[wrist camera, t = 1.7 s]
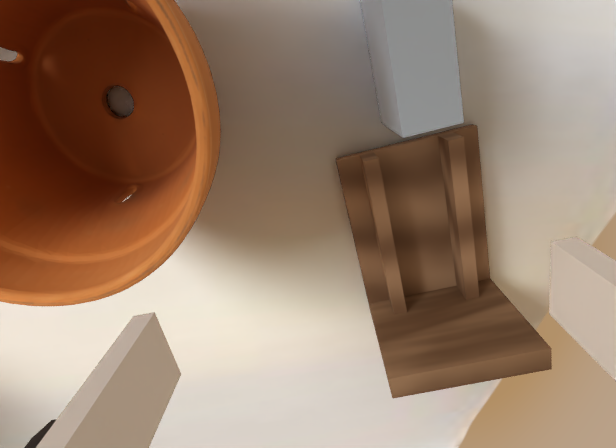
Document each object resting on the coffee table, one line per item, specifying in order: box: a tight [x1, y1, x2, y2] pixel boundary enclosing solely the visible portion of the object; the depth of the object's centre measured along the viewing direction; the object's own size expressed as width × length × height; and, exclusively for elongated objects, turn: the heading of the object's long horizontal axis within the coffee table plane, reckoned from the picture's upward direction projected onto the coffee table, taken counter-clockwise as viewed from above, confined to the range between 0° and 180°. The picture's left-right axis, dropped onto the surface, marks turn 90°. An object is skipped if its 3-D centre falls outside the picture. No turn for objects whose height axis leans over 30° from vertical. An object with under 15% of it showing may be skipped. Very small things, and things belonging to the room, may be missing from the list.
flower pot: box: [0, 0, 221, 306], centre depth 25 cm, size 21×21×15 cm
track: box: [336, 124, 551, 398], centre depth 31 cm, size 17×12×11 cm
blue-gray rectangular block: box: [360, 0, 464, 138], centre depth 27 cm, size 10×4×8 cm, turn 14°
